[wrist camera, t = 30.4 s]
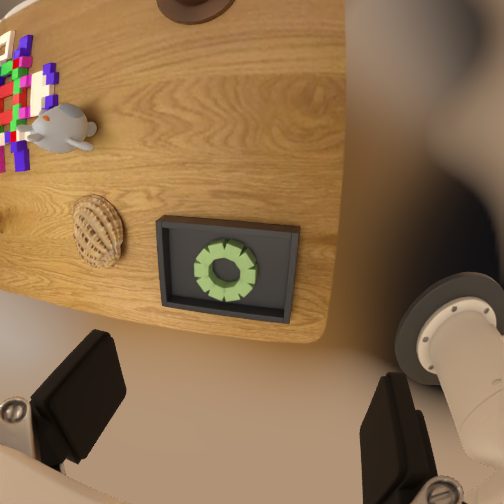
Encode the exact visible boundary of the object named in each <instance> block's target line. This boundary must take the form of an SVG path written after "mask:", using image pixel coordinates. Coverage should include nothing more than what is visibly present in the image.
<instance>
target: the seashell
mask: <svg viewBox="0 0 504 504" xmlns="http://www.w3.org/2000/svg"><path fill="white" fill-rule="evenodd" d="M71 215H72V219H73V222H74V234H73V235H74V238H75V241H76V247H77V249H78V252H79V254H80V255H81V257H82V258H83V259H84V260H85V261H86V262H87V263H88V264H89V265H90V266H92V267H95V268H103V267H104V266H105V267H111V266H112V267H114V265H115V264H116V263H117V261H118V259H119V258H120V255H121V249H120V245H121V243H122V242H123V226H122V222H121V219H120V217H119V215H118V213H117V212H116V210H115V208H114V207H113V206H112V205H111V204H110V203H109V202H108V201H107V200H105V199H104V198H102V197H100V196H97V195H91V197H83V198H81V199H79V200H77V201H76V202H75V203H74V204H73V205H72V214H71Z"/></svg>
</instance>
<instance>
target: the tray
mask: <svg viewBox="0 0 504 504" xmlns="http://www.w3.org/2000/svg"><path fill="white" fill-rule="evenodd" d="M299 231H300V227H297V226H286V225H276V224H265V223H254V222H243V221H231V220H219V219H207V218H194V217H181V216H167V215H164V216H163V217H161V218H159V219H158V220H156V236H157V252H158V266H159V279H160V290H161V301H162V306H165V307H171V308H177V309H183V310H189V311H196V312H202V313H209V314H216V315H223V316H230V317H237V318H245V319H252V320H260V321H268V322H277V323H285V324H289V323H290V315H291V306H292V298H293V289H294V280H295V271H296V261H297V252H298V241H299ZM223 238H226V241H227V243H228V241H229V240H230V239H233V240H235V241H238V242H240V243H243V244H244V247H243V250H244V249H246V248H249V249H250V250H251V252H252V253H253V255H254V256H255V258H256V259H257V260H256V262H255V264H258V272H257V279H256V282H255V284H254V287H253V289H252V290H251V291H250V292H249V293H248V294H247V295H246V296H245V297H243V296H241V298H240V300H234V301H228V302H226V300H225V297H224V298H223V300H222V301H220V300H218V299H216V298H213V297H211V296H209V295H208V294H209V292H210V290H208V291H206V292H204V291H203V290H202V288H201V287H200V285H199V284H198V283H197V281H196V280H197V279H198V278H199V277H195V275H194V263H195V261H196V257H197V256H198V255H199V254H200V252H201V251H202V250H203V249H204V247H205V246H206V245H207V244H210V243H211V242H212V241H214V240H219V239H223ZM243 250H242V251H243ZM213 272H214V273H215V275H216V276H217V277H218V278H219V279H221V280H223V281H226V282H232V281H237V280H238V279H239V278H240V269H239V268H238V266H237V265H236V264H235V262H234V261H231V260H229V259H227V258H220V259H215V260H214V261H213Z"/></svg>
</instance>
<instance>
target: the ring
mask: <svg viewBox="0 0 504 504" xmlns="http://www.w3.org/2000/svg"><path fill="white" fill-rule="evenodd" d="M243 247H244V244H243V243H240V242H238V241H235V240H233V239H230V240H229V241H228V243H227V241H226V238H223V239H219V240H214V241H212V242H211V243H210V244H207V245H206V246H205V247H204V249H203V250H202V251H201V252H200V254H199V255H198V256H197V257H196V261H195V263H194V275H195V277H199V278H198V279H197V280H196V281H197V283H198V284H199V285H200V287H201V288H202V290H203V291H204V292H206V291H208V290H210V292H209V294H208V295H209V296H211V297H213V298H216V299H218V300H220V301H222V300H223V298H224V297H225V300H226V302H228V301H234V300H240V298H241V296H243V297H245V296H246V295H247V294H248V293H249V292H250V291H251V290H252V289H253V287H254V284H255V282H256V279H257V272H258V264H255V262H256V260H257V259H256V258H255V256H254V255H253V253H252V252H251V250H250V249H249V248H246V249H244V250H243ZM242 250H243V251H242ZM220 258H227V259H229V260H231V261H234V262H235V264H236V265H237V266H238V268H239V269H240V278H239V279H238V280H237V281H232V282H226V281H223V280H221V279H219V278H218V277H217V276H216V275H215V273H214V272H213V261H214V260H215V259H220Z"/></svg>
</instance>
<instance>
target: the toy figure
mask: <svg viewBox="0 0 504 504" xmlns="http://www.w3.org/2000/svg"><path fill="white" fill-rule="evenodd" d="M38 116H39V117H38V118H37V119H36V120H35V121H34V122H33V124H32V125H31V126H30V125H23V124H22V125H18V126H17V127H16V130H18V131H19V132H30V135H28V136H27V139H28V140H29V141H31V142H33V143H34V144H36V145H37V146H38V147H40V148H42V149H44V150H46V151H49V152H53V153H59V154H63V153H68V152H71V151H73V150H75V149H76V148H80V149H82V150H85V151H92V150H93V149H94V145H93V144H89V143H88V142H83V141H84V139H85V137H86V136H87V137H91V136H93V135H94V134H95V133H96V130H97V126H96V124H95V123H94V122H87V118H86V116H85V114H84V113H83V111H82V110H81V109H80V108H79V107H77V106H75V105H72V104H61V105H59V106H57V107H54V108H52V109H50V110H46V109H43V110H41V111H40V112H39V114H38Z"/></svg>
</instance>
